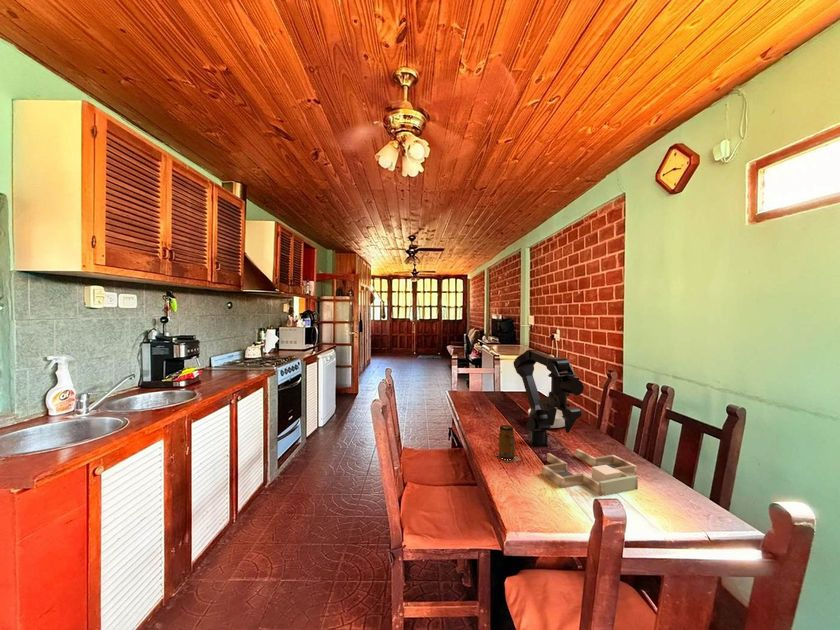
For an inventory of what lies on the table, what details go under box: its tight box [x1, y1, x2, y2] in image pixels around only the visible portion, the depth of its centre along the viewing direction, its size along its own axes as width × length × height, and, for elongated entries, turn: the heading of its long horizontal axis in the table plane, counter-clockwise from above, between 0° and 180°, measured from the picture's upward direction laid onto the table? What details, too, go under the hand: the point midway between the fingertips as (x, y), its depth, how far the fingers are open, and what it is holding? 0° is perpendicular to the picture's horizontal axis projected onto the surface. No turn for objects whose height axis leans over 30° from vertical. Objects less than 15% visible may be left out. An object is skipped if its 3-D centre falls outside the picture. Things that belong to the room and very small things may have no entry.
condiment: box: [493, 424, 522, 463], centre depth 142 cm, size 7×8×12 cm
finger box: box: [546, 448, 639, 496], centre depth 127 cm, size 27×14×4 cm, turn 17°
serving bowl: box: [527, 407, 565, 429], centre depth 181 cm, size 21×21×7 cm
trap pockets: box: [541, 454, 638, 489], centre depth 127 cm, size 10×32×3 cm, turn 107°
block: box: [591, 465, 620, 482], centre depth 120 cm, size 6×6×5 cm
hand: (559, 429), depth 142 cm, fingers open, 9 cm apart
